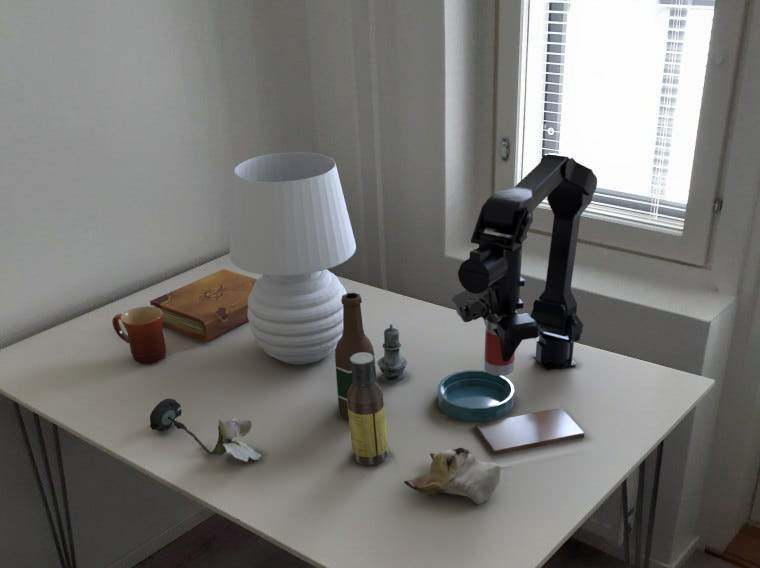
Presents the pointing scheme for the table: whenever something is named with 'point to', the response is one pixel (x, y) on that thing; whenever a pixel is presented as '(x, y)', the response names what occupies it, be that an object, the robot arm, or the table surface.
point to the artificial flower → (227, 431)
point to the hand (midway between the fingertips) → (499, 353)
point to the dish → (475, 396)
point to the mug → (143, 333)
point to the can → (495, 350)
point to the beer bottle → (349, 347)
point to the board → (528, 431)
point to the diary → (207, 305)
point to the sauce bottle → (366, 412)
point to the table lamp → (292, 251)
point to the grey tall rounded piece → (392, 357)
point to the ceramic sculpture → (459, 476)
